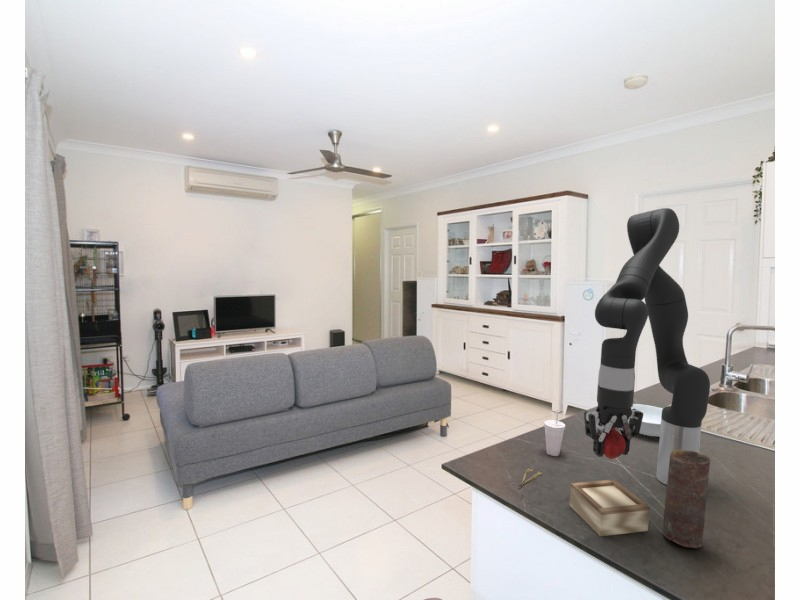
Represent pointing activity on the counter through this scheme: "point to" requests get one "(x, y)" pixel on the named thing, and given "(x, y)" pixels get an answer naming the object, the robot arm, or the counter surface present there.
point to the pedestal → (609, 507)
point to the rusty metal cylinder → (686, 497)
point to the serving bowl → (649, 419)
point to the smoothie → (554, 435)
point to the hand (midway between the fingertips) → (610, 454)
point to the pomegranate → (613, 444)
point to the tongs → (529, 479)
